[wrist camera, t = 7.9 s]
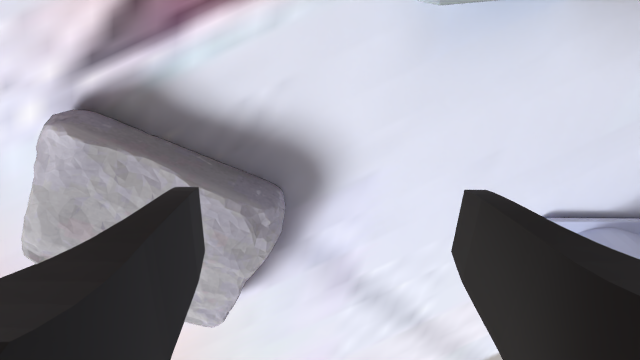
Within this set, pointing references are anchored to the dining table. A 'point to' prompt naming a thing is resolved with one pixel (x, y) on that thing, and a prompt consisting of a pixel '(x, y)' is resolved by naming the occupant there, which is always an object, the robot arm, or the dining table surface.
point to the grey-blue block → (451, 1)
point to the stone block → (148, 201)
